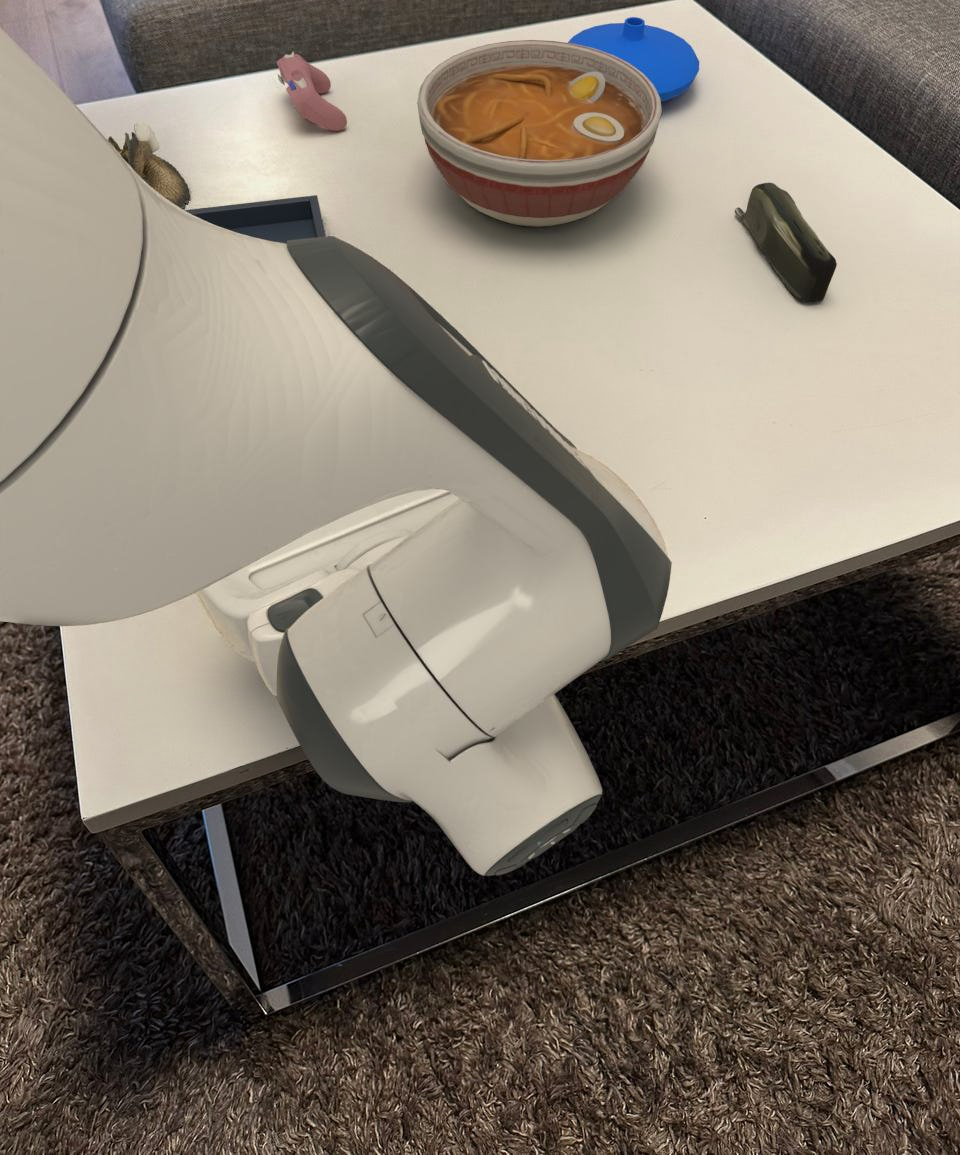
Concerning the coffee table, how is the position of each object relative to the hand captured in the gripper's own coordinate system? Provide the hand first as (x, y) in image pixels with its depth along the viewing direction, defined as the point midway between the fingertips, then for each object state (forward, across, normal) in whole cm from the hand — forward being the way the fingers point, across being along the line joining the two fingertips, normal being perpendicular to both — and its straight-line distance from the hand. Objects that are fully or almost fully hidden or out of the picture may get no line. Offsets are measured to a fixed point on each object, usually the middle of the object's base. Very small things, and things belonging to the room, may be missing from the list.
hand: (308, 453), depth 62 cm
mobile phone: (+12, -52, +10) cm, 54 cm away
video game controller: (+57, -24, +10) cm, 62 cm away
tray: (+34, -6, +10) cm, 36 cm away
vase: (+46, -58, +10) cm, 74 cm away
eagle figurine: (+50, -3, +10) cm, 52 cm away
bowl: (+32, -37, +10) cm, 50 cm away
